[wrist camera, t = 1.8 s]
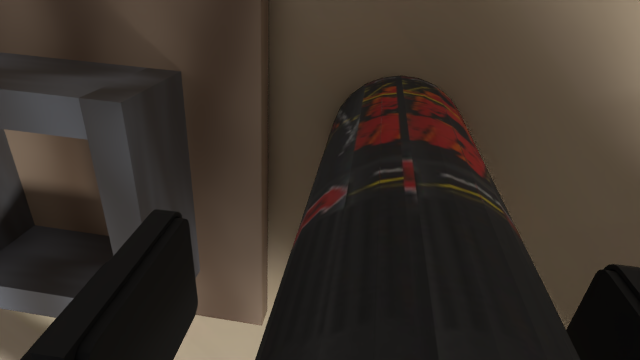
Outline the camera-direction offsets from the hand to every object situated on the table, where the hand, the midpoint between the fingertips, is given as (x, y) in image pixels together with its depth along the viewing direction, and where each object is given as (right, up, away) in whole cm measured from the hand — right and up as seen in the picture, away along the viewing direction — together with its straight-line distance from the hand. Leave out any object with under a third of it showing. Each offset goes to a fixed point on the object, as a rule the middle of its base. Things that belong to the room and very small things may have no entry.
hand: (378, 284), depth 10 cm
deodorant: (+2, +4, +9) cm, 10 cm away
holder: (-13, +3, +12) cm, 18 cm away
